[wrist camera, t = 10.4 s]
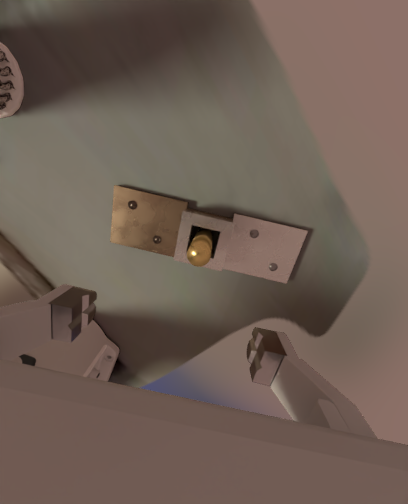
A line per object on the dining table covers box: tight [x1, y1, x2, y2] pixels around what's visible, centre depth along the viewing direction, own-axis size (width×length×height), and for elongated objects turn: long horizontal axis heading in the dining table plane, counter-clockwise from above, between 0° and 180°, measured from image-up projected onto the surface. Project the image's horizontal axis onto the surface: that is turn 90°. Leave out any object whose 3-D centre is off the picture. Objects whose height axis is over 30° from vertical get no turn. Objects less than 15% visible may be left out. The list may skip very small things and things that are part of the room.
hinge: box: [110, 185, 308, 284], centre depth 25 cm, size 26×8×4 cm, turn 77°
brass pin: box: [187, 228, 213, 266], centre depth 23 cm, size 2×2×9 cm
